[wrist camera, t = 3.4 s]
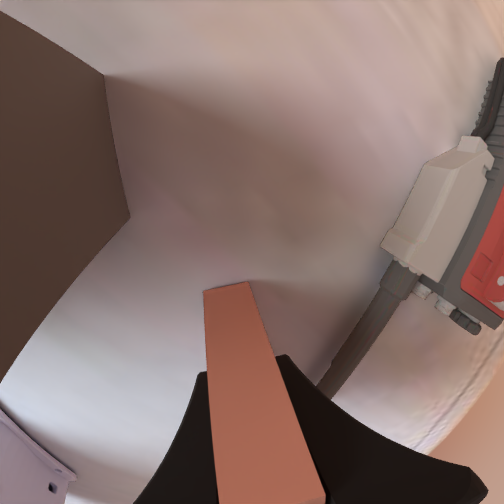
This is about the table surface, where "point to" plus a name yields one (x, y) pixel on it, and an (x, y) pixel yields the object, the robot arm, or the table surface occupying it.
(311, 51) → the table surface
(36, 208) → the domino
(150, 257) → the table surface
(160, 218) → the table surface
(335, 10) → the table surface
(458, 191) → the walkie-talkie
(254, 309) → the red domino
